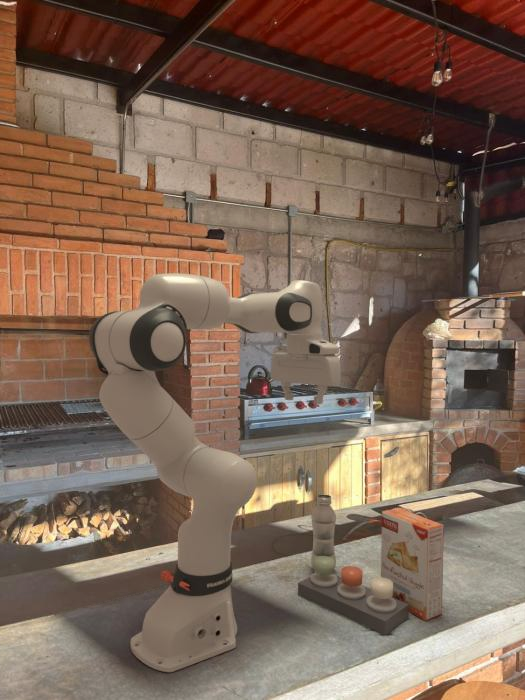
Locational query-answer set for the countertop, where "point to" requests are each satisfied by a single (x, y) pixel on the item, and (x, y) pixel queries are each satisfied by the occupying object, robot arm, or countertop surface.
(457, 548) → the countertop surface
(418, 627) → the countertop surface
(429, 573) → the cracker box
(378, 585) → the button cream
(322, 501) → the plastic bottle
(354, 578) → the button orange
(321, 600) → the button panel
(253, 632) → the countertop surface
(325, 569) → the button sage
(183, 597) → the robot arm
